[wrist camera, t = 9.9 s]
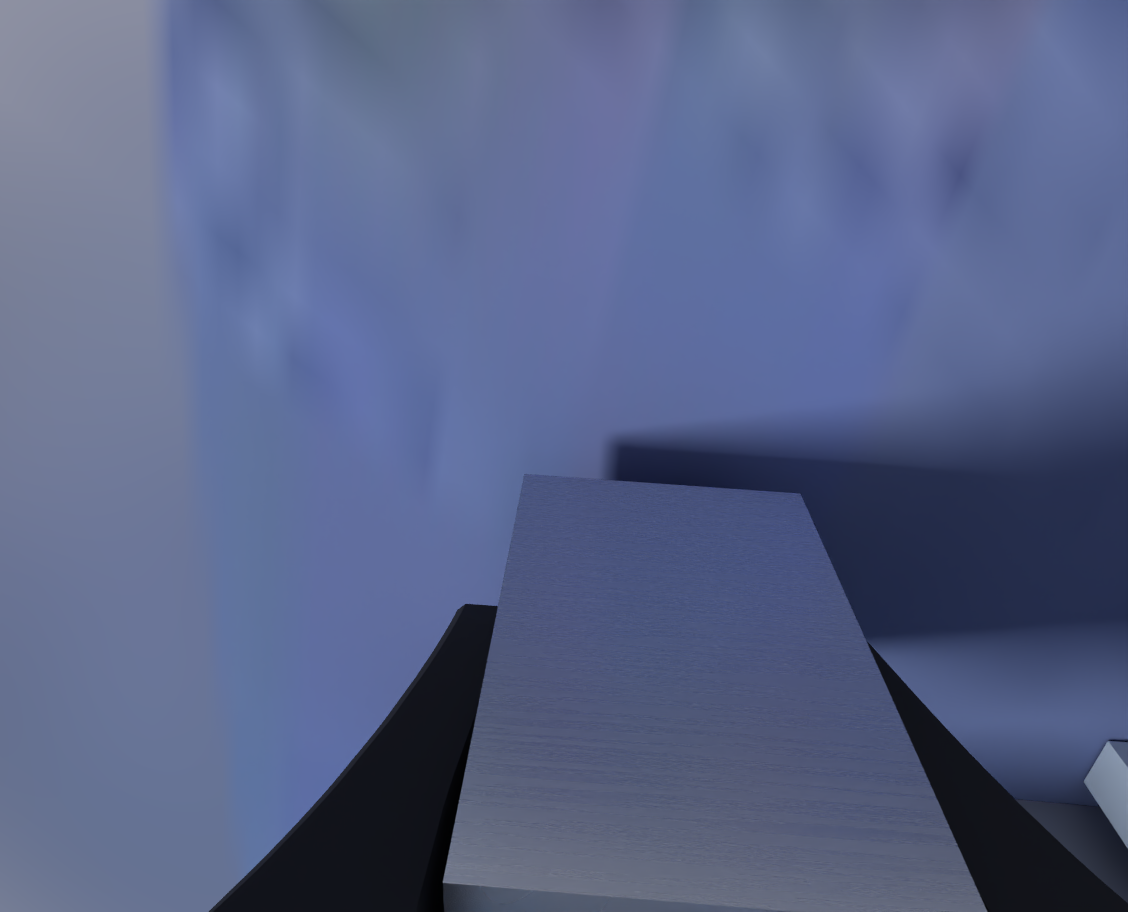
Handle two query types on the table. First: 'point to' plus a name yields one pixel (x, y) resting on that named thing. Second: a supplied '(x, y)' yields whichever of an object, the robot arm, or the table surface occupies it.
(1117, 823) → the socket rails
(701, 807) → the metal plug
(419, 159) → the table surface
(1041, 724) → the table surface
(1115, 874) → the cube
